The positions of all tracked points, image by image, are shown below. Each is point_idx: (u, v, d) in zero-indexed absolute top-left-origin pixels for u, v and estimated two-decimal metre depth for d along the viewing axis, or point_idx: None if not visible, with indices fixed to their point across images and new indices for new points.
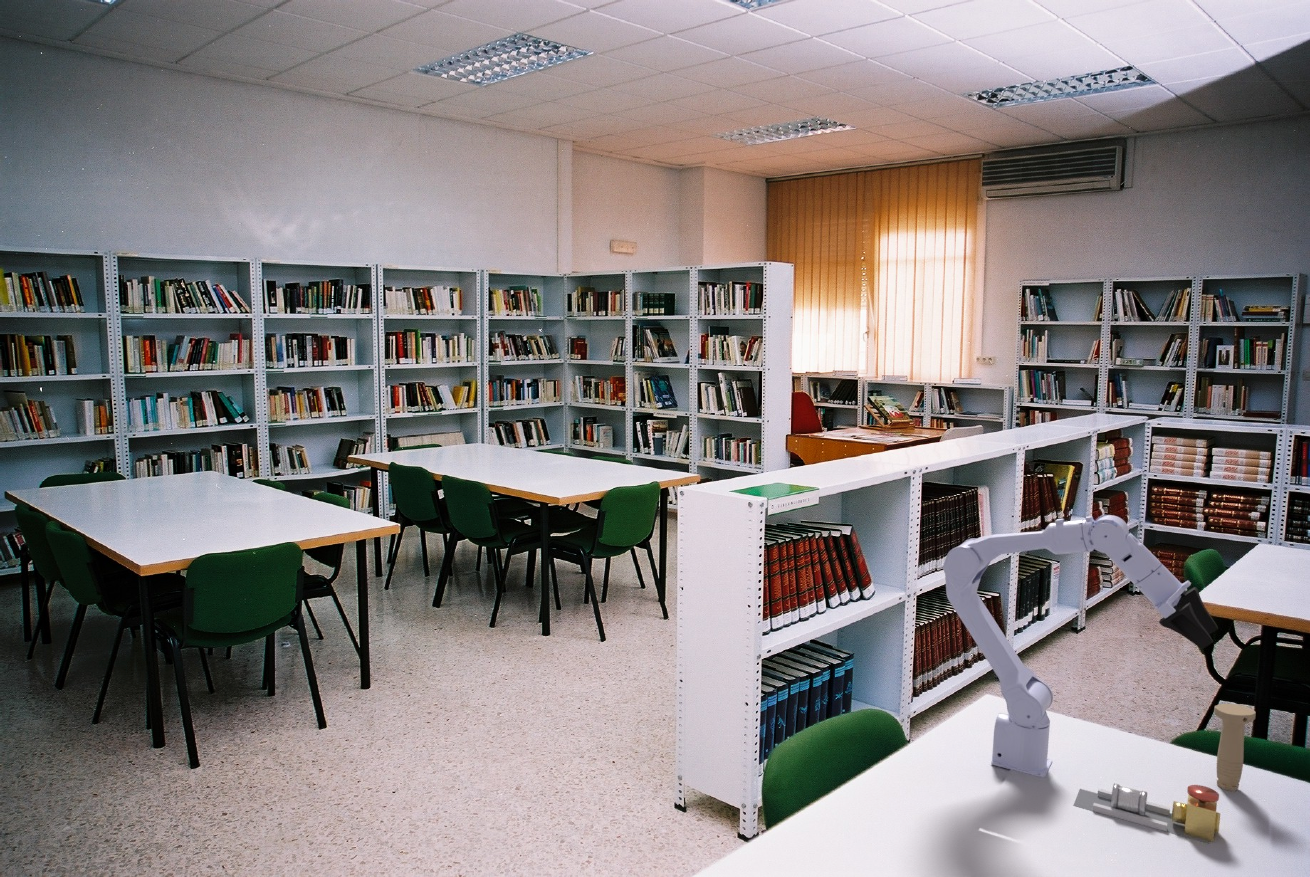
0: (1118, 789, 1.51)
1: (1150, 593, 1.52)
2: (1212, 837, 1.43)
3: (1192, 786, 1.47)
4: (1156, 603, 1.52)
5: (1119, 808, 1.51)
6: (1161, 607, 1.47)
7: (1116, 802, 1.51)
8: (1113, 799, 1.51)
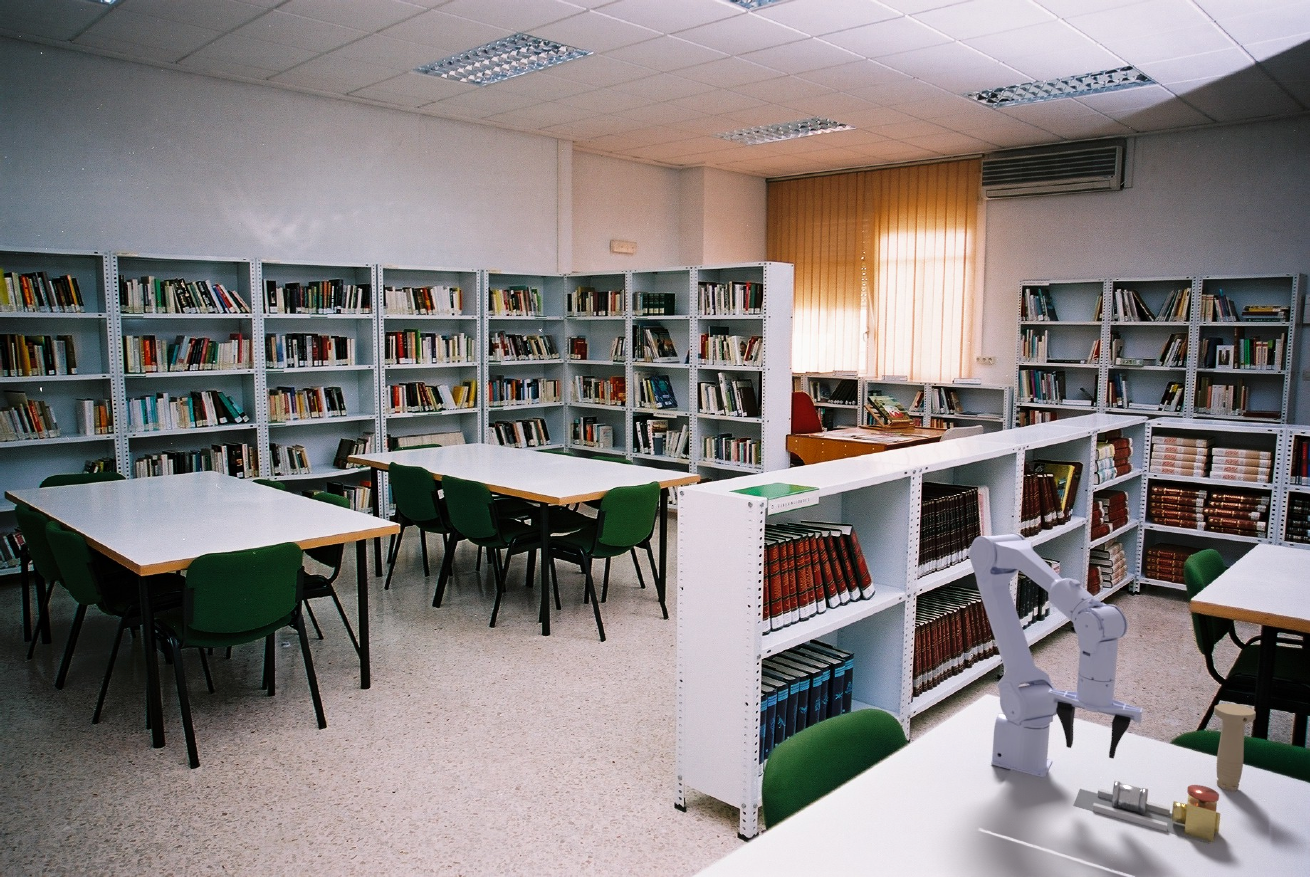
0: (1120, 783, 1.53)
1: None
2: (1212, 837, 1.43)
3: (1192, 786, 1.47)
4: None
5: (1120, 801, 1.51)
6: None
7: (1118, 793, 1.52)
8: (1115, 789, 1.52)
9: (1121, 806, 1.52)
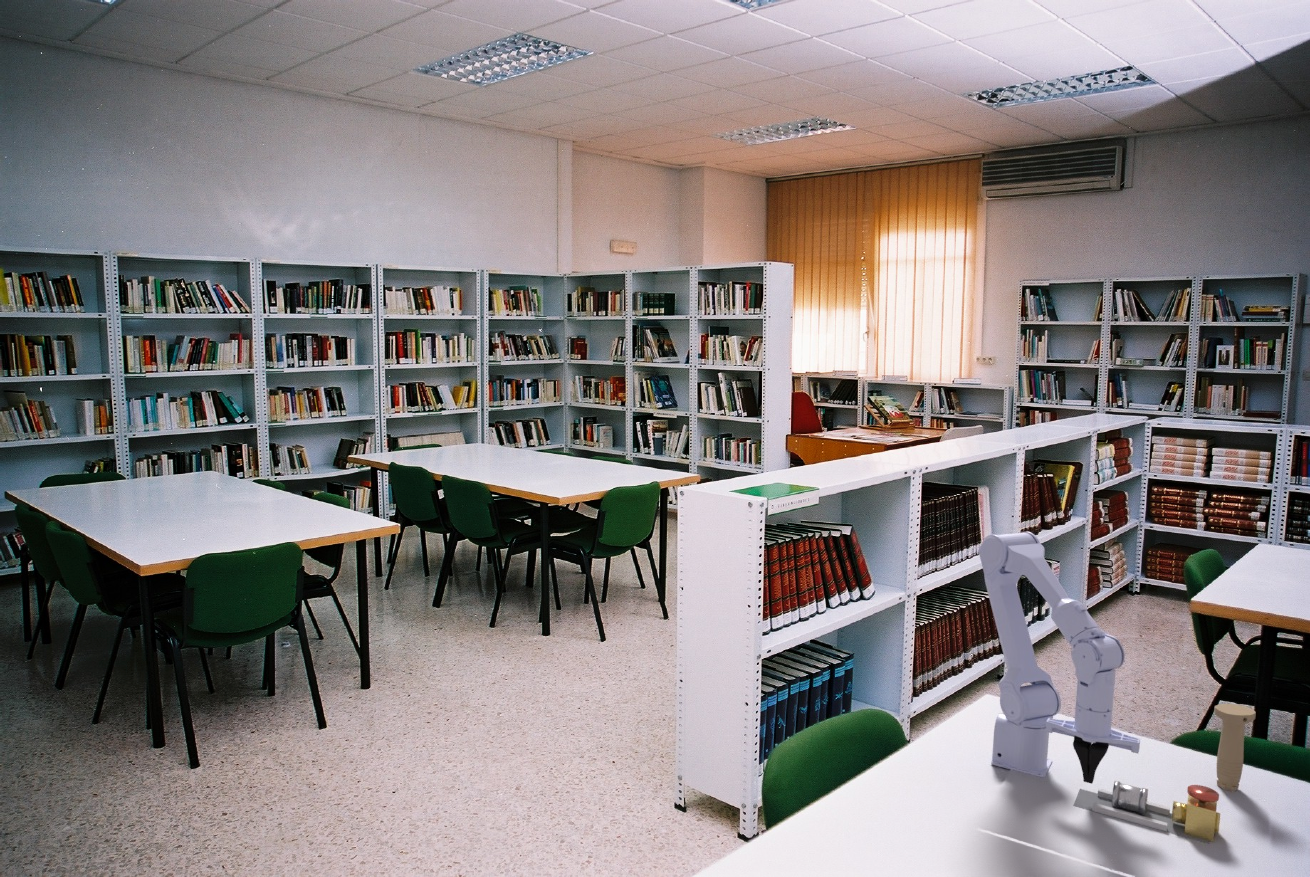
0: (1120, 783, 1.53)
1: None
2: (1212, 837, 1.43)
3: (1192, 786, 1.47)
4: None
5: (1120, 801, 1.51)
6: (1047, 720, 1.58)
7: (1118, 793, 1.52)
8: (1115, 789, 1.52)
9: (1121, 806, 1.52)
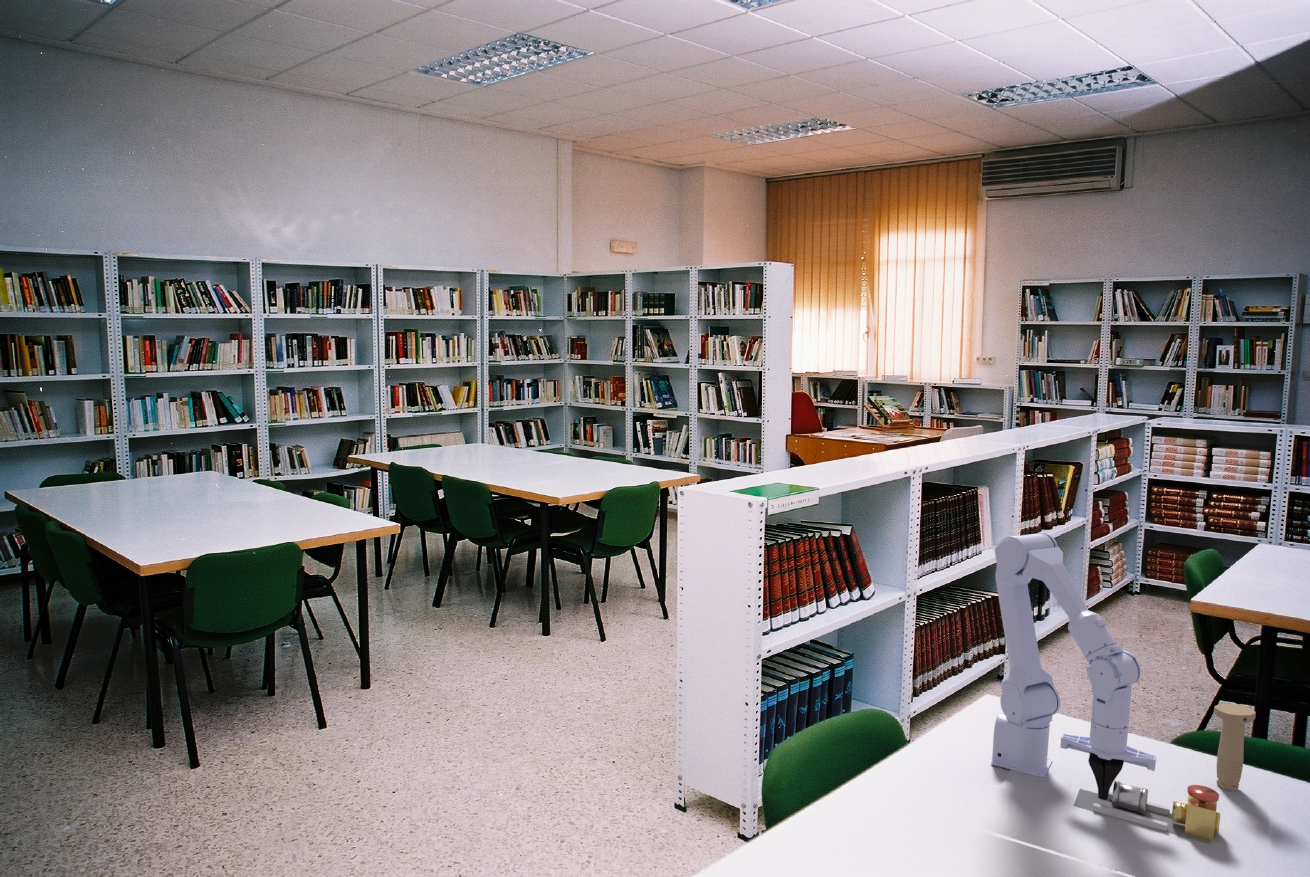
0: (1120, 783, 1.53)
1: None
2: (1212, 837, 1.43)
3: (1192, 786, 1.47)
4: None
5: (1120, 801, 1.51)
6: (1062, 736, 1.57)
7: (1118, 793, 1.52)
8: (1115, 789, 1.52)
9: (1121, 806, 1.52)
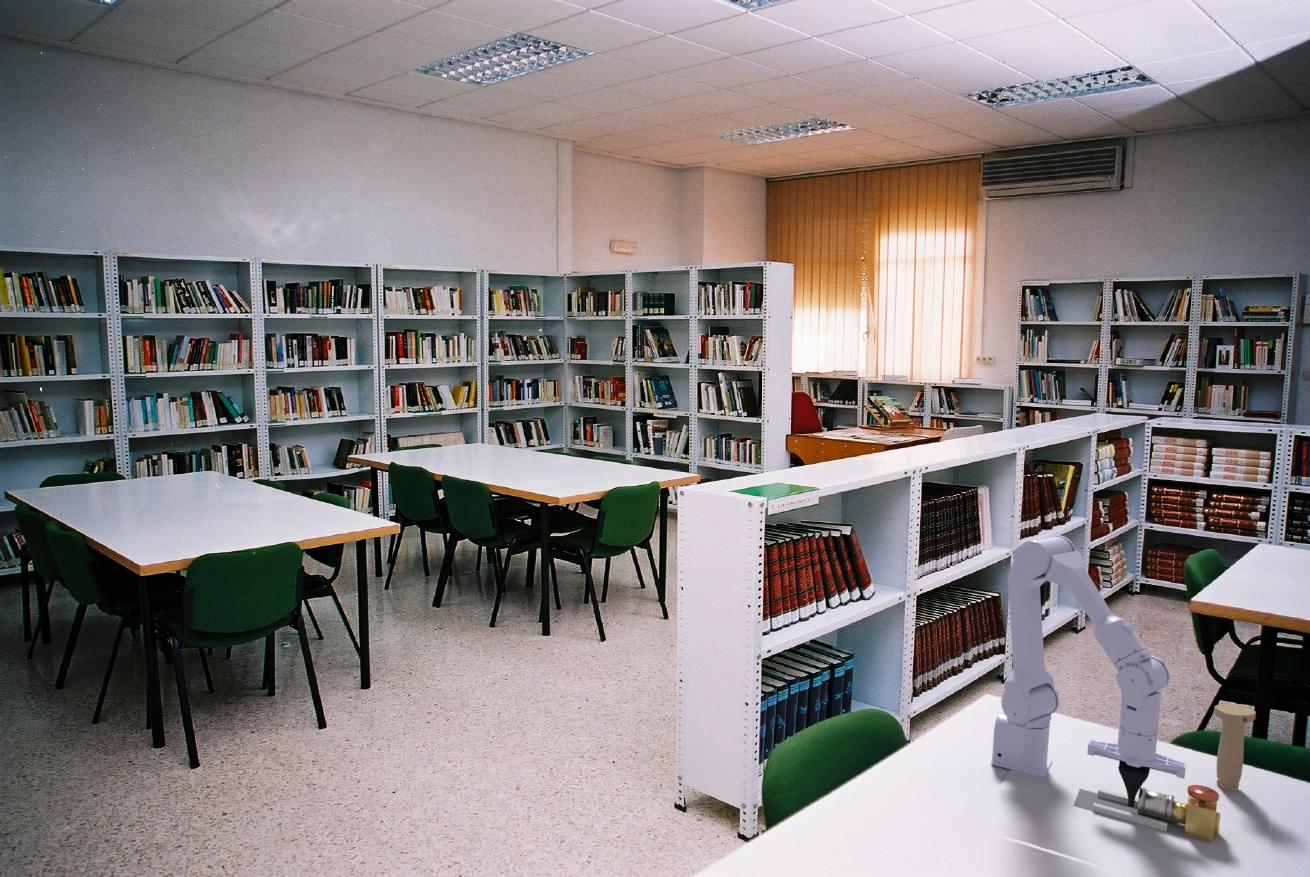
0: (1145, 789, 1.51)
1: None
2: (1212, 837, 1.43)
3: (1192, 786, 1.47)
4: None
5: (1146, 808, 1.49)
6: (1089, 742, 1.55)
7: (1143, 799, 1.50)
8: (1141, 796, 1.50)
9: (1147, 813, 1.50)
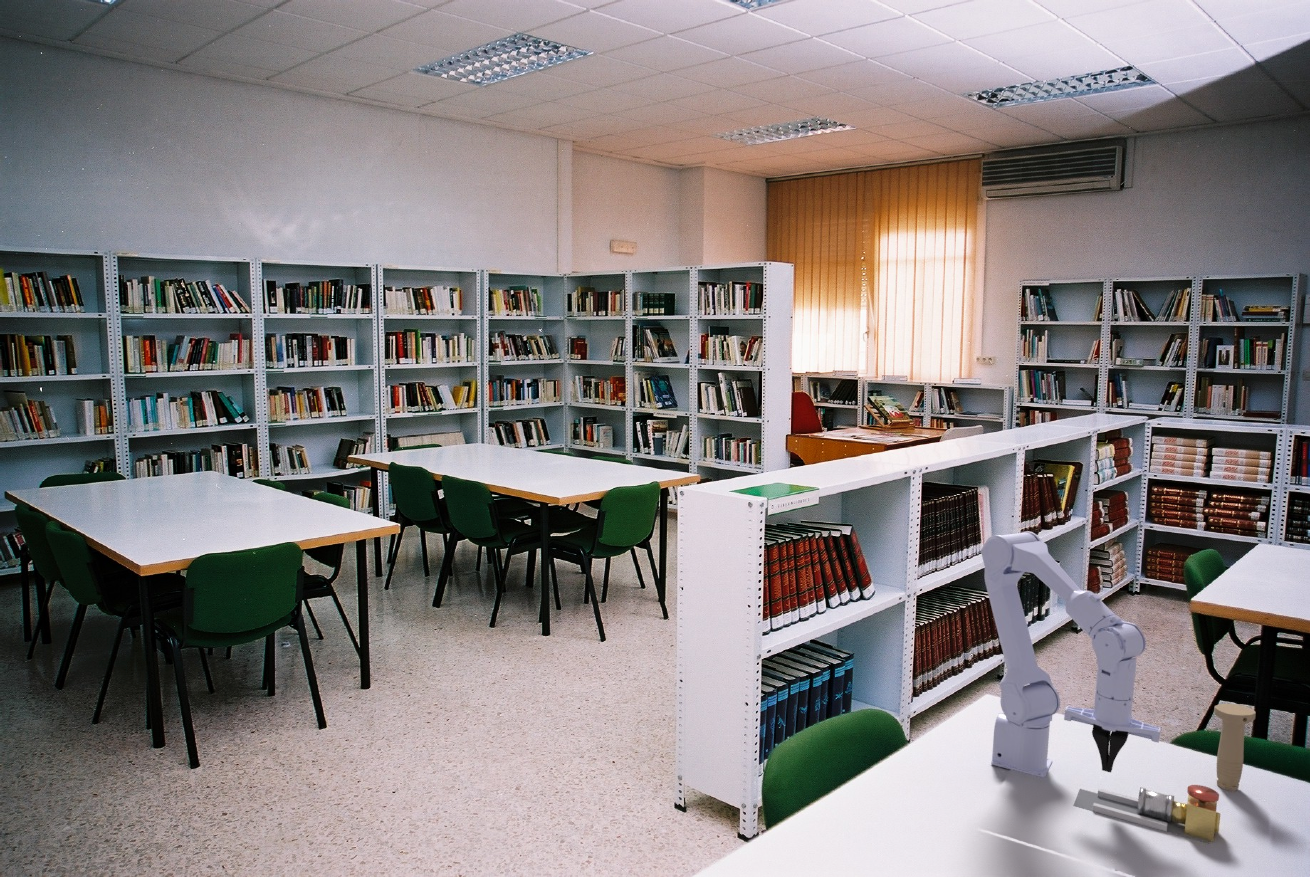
0: (1145, 789, 1.51)
1: None
2: (1212, 837, 1.43)
3: (1192, 786, 1.47)
4: None
5: (1146, 808, 1.49)
6: (1066, 708, 1.56)
7: (1143, 799, 1.50)
8: (1141, 796, 1.50)
9: (1147, 813, 1.50)
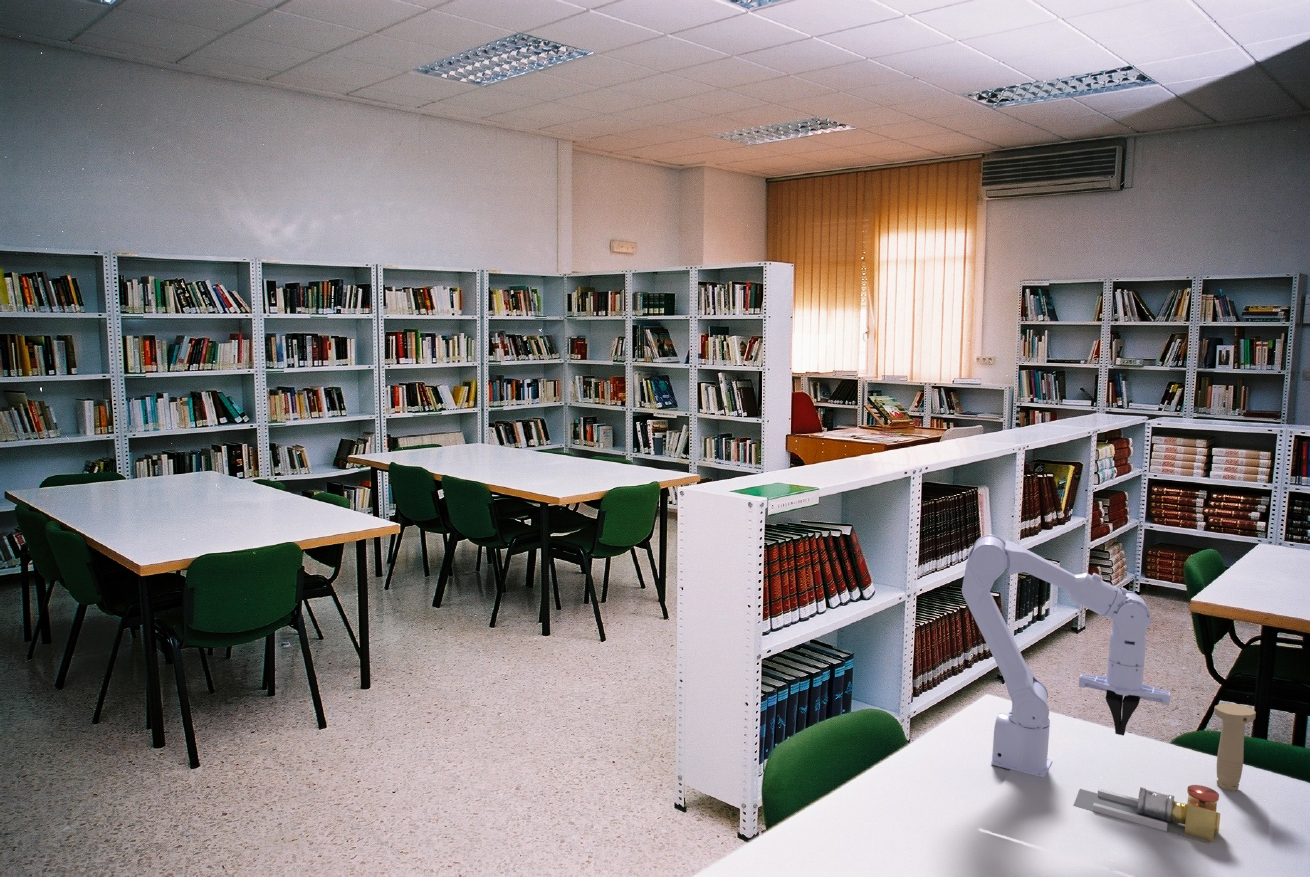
0: (1145, 789, 1.51)
1: None
2: (1212, 837, 1.43)
3: (1192, 786, 1.47)
4: None
5: (1146, 808, 1.49)
6: (1080, 676, 1.65)
7: (1143, 799, 1.50)
8: (1141, 796, 1.50)
9: (1147, 813, 1.50)
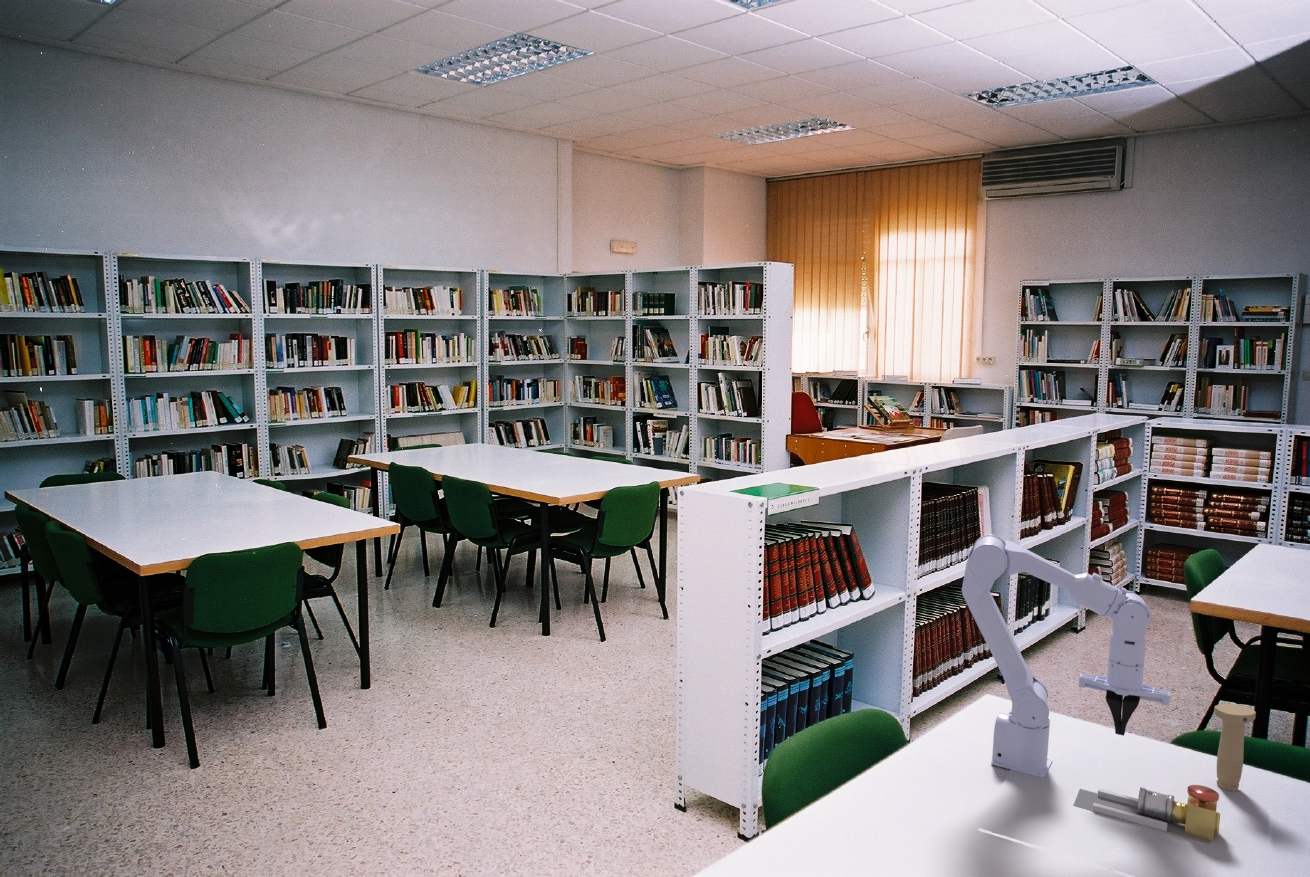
0: (1145, 789, 1.51)
1: None
2: (1212, 837, 1.43)
3: (1192, 786, 1.47)
4: None
5: (1146, 808, 1.49)
6: (1080, 676, 1.65)
7: (1143, 799, 1.50)
8: (1141, 796, 1.50)
9: (1147, 813, 1.50)
